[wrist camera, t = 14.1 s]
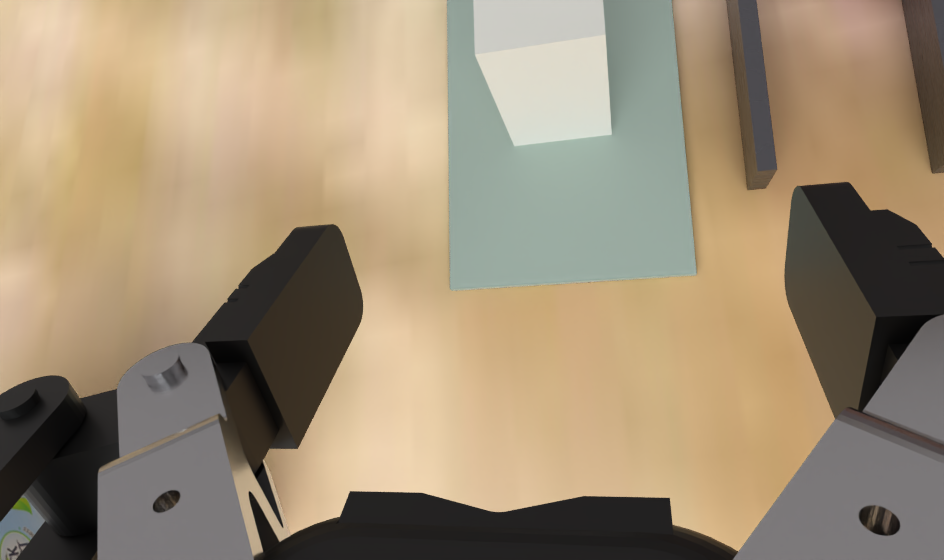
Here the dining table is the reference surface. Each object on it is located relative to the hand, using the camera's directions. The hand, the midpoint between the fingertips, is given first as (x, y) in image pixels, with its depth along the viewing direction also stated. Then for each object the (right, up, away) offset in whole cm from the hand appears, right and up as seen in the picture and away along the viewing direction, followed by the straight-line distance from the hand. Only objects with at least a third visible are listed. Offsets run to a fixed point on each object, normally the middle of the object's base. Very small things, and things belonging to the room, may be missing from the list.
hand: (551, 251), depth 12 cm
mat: (+3, +9, +22) cm, 24 cm away
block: (+3, +9, +22) cm, 24 cm away
